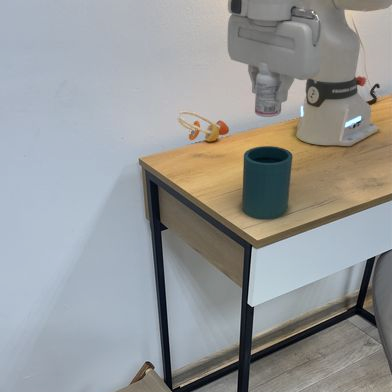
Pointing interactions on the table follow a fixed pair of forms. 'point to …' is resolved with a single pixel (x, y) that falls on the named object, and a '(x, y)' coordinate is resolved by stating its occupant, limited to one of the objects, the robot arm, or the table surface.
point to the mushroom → (211, 131)
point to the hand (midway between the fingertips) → (268, 97)
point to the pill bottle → (267, 92)
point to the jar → (266, 182)
